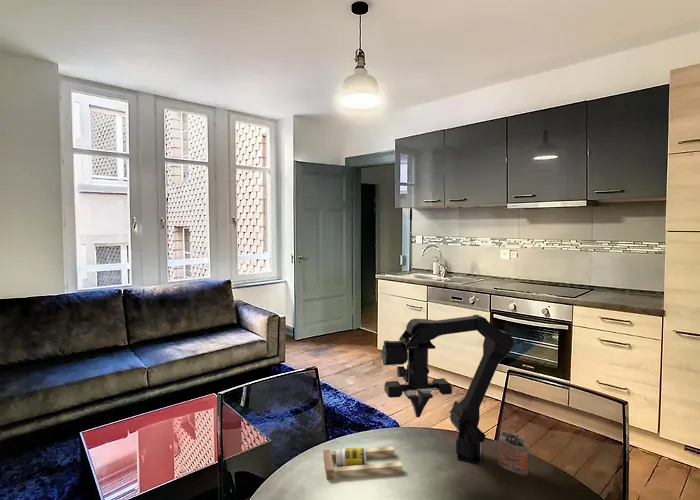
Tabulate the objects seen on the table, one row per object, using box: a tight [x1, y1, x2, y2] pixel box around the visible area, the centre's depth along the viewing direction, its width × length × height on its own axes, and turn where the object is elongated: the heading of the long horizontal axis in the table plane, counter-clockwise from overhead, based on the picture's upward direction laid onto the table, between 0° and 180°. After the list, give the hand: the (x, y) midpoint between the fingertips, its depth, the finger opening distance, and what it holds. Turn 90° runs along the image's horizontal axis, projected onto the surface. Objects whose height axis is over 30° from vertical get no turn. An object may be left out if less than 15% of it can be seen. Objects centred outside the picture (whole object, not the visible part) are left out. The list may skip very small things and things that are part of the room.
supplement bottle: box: [335, 447, 367, 467], centre depth 118 cm, size 5×5×8 cm
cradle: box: [323, 445, 403, 480], centre depth 118 cm, size 21×11×2 cm, turn 98°
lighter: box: [498, 430, 529, 476], centre depth 116 cm, size 8×3×10 cm, turn 47°
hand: (417, 416), depth 120 cm, fingers closed
